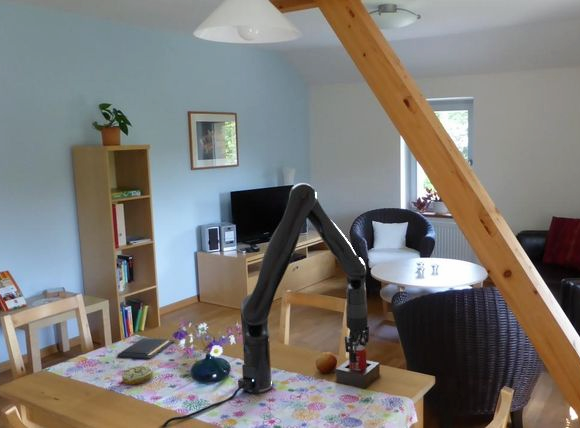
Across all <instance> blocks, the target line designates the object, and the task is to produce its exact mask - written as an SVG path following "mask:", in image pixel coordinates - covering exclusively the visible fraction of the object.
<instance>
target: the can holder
mask: <svg viewBox="0 0 580 428" xmlns="http://www.w3.org/2000/svg"><path fill="white" fill-rule="evenodd" d="M380 366H381V365H380V362H376V361H372V360H367V368H366V369H365V370H364V371H357V370H352V369H349V359H347V360H346V361H344V362H343V363H342V364H341V365H339V366H337V367H336V368H335V383H338V384H343V385H347V386H352V387H356V388H360V389H364V390H365V389H367V388H368V387H369V386H370V385H371V384H372V383H373V382H375V381H376V380H377V379H378V378H379V377H380V376H381V371H380V370H381V369H380V368H381V367H380Z"/></svg>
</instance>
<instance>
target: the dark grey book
mask: <svg viewBox="0 0 580 428" xmlns="http://www.w3.org/2000/svg"><path fill="white" fill-rule="evenodd" d="M172 343H174V340H173V339H168V338H156V337H142V338H141V339H139V340H137V341H136V342H135V343H133V344H132V345H130V346H128V347H127V348H125V349H123V350H122V351H121V352H119V353H118V354H117V358H120V359H121V358H122V359H138V360H150V359H153V357H155V356H156V355H158V354H159V353H160V352H162V351H163V350H164V349H165V348H167V347H168V346H170V345H171V344H172Z"/></svg>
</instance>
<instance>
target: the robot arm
mask: <svg viewBox="0 0 580 428" xmlns="http://www.w3.org/2000/svg"><path fill="white" fill-rule="evenodd" d="M307 220H308V221H309V223H310V224H311V225H312V226H313V228H314V229H315V231H316V232H317V234H318V235H319V237H320V239H321V240H322V242H323V244H325V246H326V247H327V249H328V250H329V252H330V253H331V254H332V256H334V258H335V259H336V260H337V262H338V263H339V266H340V267H341V268H342V270H343V272H344V273H345V275H346V276H345V277H346V306H345V318H346V319H345V320H346V322H345V323H346V328H347V329H348V330H349V335H348V336H347V335H345V336H344V346H345V347H344V348H345V353H348V354H349V353H350V362H351V363H355V362H356V349H357V347H358V345H363V346H364V347H365V348H366V346H367V343H369V341H370V340H369V338H370V336H369V335H370V326H369V325H368V303H367V288H366V275H367V267H366V263H365V261H364V260H363V259H362V258H361V257H358V255H357V254H356V252H355V250H354V249H353V247H352V245H351V243H350V242H349V241H348V239H347V237H345V235H344V233H343V232H342V231H341V230H340V229H339V227H338V226H337V225H336V224H335V223H334V222H333V220H332V219H331V218H330V217H329V216H328V214H327V213H326V211H325V210H324V209H323V207H322V205H321V203H320V201H319V199H318V198H317V192H316V190H315V188H314V187H313V186H312V185H310V184H308V183H305V182H299V183H297V184H295V185H294V186H292V187H291V189H290V191H289V195H288V201H287V205H286V207H285V210H284V213H283V216H282V219H281V220H280V222H279V224H278V226H277V227H276V229H275V230H274V232H273V234H272V236H271V237H270V240H269V242H268V244H267V246H266V248H265V251H264V253H263V256H262V259H261V263H260V267H259V272H258V277H257V281H256V284H255V285H254V287H253V290H252V293H250V294H247V295H246V296H244V298H243V299H242V301H241V303H240V322H241V334H242V351H243V364H242V365H241V368H242V370H241V371H242V377H241V378H238V380H237V389H236V390H235V391H234V392H233V394H232V395H231V396H229V397H228V398H226V399H224V400H221V401H217V402H215V403H212V404H209V405H208V406H205V407H202V408H200V409H197V410H195V411H193V412H191V413H188V414H185V415H181V416H174V417H170V418H169V419H167V420H166V421H165V422H163V424H162V425H161V426H162V428H166V426H167V425H168V424H169V423H172V422H173V421H178V420H185V419H189V418H190V417H193V416H196V415H198V414H200V413H202V412H205V411H207V410H209V409H211V408H214V407H217V406H220V405H222V404H225V403H226V402H228V401H231V400H233V399H234V398H235V397H236V396H237V394H238V393H239V392H240V391H241V390H243V391H244V392H247V393H251V394H253V395H259V394H261V393H265V392H268V391H269V390H271V389H272V388H273V382H272V364H271V363H272V362H271V361H272V360H271V340H270V339H271V338H270V336H271V335H270V329H269V315H270V313H271V309H272V306H273V303H274V299H275V296H276V293H277V290H278V288H279V286H280V285H281V283H282V280H283V279H284V277H285V274H286V272H287V270H288V267H289V265H290V263H291V261H292V259H293V257H294V253H295V251H296V248H297V246H298V242H299V239H300V236H301V232H302V230H303V227H304V225H305V222H306V221H307ZM353 346H354V349H353Z"/></svg>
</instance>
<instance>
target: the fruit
mask: <svg viewBox="0 0 580 428" xmlns="http://www.w3.org/2000/svg"><path fill="white" fill-rule="evenodd" d="M337 364H338V358H337V356H336V355H335V354H334V353H333V352H331V351H325V352H322V353H321V354H320V355H318V356H317V358H316V360H315V365H316V369H317V370H318V371H319V372H320V373H323V374H330V373H335V371H336V368H337Z"/></svg>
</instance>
